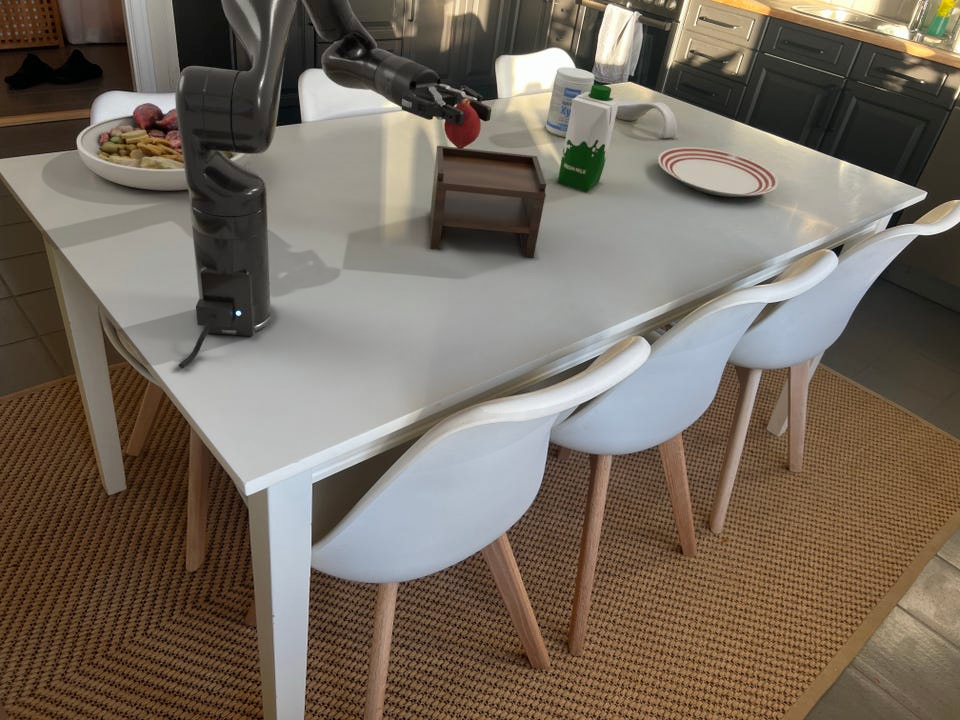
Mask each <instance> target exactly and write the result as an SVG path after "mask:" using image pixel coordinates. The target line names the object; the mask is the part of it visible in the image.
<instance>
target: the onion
mask: <svg viewBox="0 0 960 720" xmlns="http://www.w3.org/2000/svg"><path fill="white" fill-rule="evenodd" d="M454 107H455V108H457V109H459V110H461V111H463V113H464V119H463V125H461V126H457V125H455V124H453V123H451V122H449V121H447V120H445V119H444V133H445V135H446V138H447V139H448V141H449V142H450V143H451V144H452V145H454V147H456V148H459V149H463V148H465V147H468V146H469V145H471V144H472V143H474V142H475V141H476V139H478V137H479V136H480V133H481V129H482V124H481V119H479V116H478V114H477V113H476V111H475V110H474V109H473V108H472V107H471V106H470V101H469V100H468V99H467V98H466V99H463V101H462V103H461V104H460V105H458V106H457V105H455V106H454Z"/></svg>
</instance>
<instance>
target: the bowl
mask: <svg viewBox="0 0 960 720" xmlns="http://www.w3.org/2000/svg"><path fill="white" fill-rule="evenodd" d="M76 147H77V151H78V154H79V157H80V158H81V160H82V161H83V163H84V164H85V166H87V167H88V168H89V169H90V170H91V171H92V172H93V173H94V174H96V175H98V176H99V177H101V178H103V179H105V180H107V181H110V182H112V183H116V184H119V185H121V186H125V187H130V188H135V189H140V190H148V191H149V190H151V191H186V190H188V187H187V183H186V177H185V168H184V160H183V154H182V147H181V141H180V135H179V130H178V123H177V115H176V107H175V108H172V109H170V110H169V111H168V112H163V110H162V109H161V108H160V107H159V106H158V105H156V104H154V103H152V102H146V103H143V104H139V105H137V106H136V107H135V108H134V110H133V112H132V114H127V115H122V116H121V115H120V116H117V117H116V116H115V117H112V118H108V119H107V118H106V119H104V120H101V121H98V122H95V123H94V124H91V125H89V126H87V127H86V128H84V129H83V130H82V131H81V132H80V133H79V134H78V135H77V137H76ZM221 152H222V153H223V154H224V155H225V156H227V157H228V158H229V159H231V160H232V161H233V162H235V163H237V164H239V165H241V166H242V167H245V168H246V166H247V163H248V162H249V160H250V157H251V154H244V153H234V152H225V151H221Z"/></svg>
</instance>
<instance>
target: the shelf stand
mask: <svg viewBox="0 0 960 720" xmlns="http://www.w3.org/2000/svg"><path fill="white" fill-rule="evenodd" d="M434 162H435V163H434V171H433V172H434V173H433V183H432V191H431V203H430V212H429V213H430V214H429V228H430V231H429V232H430V233H429V237H430V238H429V239H430V242H429V243H430V246H429V247H430V249H431V250H438V251H439V250H441V240H442V233H443V226H444V227H454V228H462V229H463V228H465V229H474V230H487V231H495V232H496V231H497V232H505V233H506V232H507V233H518V234H519V238H520V242H521V246H522V247H521V248H522V252H523V256H524V258H529V259H530V258H531V259H534V257H535V254H536V253H535V251H536V246H537V242H538V236H539V231H540V226H541V222H542V216H543V210H544V205H545V200H546V187H547V182H546V179H545V177H544V172H543V169H542V167H541V164H540V160H539V158H538V156H537V155H531V154H521V153H512V152H511V153H510V152H503V151H492V150H484V149H475V148H474V149H473V148H465V147H464V148H463V149H459V148H457V147H456V146H446V145H436V153H435V161H434Z"/></svg>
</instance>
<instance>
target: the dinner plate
mask: <svg viewBox="0 0 960 720" xmlns="http://www.w3.org/2000/svg"><path fill="white" fill-rule="evenodd" d="M657 162H658V166H660V168H661V170H663V171H664V172H665V173H667V174H668V175H669V176H670V177H673V178H674V179H676V180H678V181H679V182H680V183H682V184H684V185H686V186H687V187H690V188H691V189H694V190H696V191H699V192H702V193H705V194H709V195H714V196H720V197H726V198H740V197H744V198H746V197H747V198H748V197H756V196H762V195H765V194H769V193H772V192H773V191H775V190H776V189H777V188H778V186H779V179H778V177H777V175H776V174H775V173H774V172H773V171H771V169H769V168H768V167H766V166H764V165H763V164H760V163H759V162H757V161H754V160H752V159H749V158H747V157H745V156H741V155H738V154H735V153H732V152H727V151H724V150H718V149H713V148H707V147H694V146H689V147H687V146H685V147H674V148H669V149H667V150H664V151H662V152H661V153H660V154H659V155H658V157H657Z"/></svg>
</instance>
